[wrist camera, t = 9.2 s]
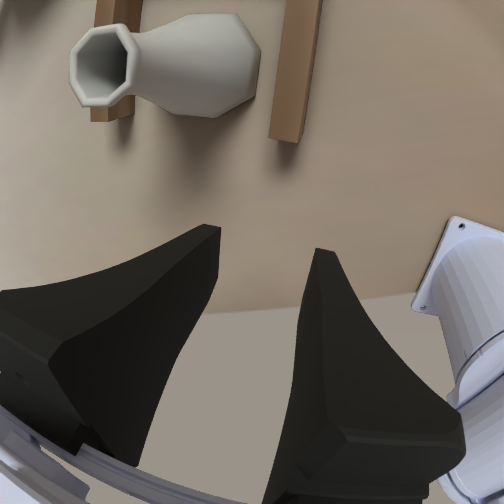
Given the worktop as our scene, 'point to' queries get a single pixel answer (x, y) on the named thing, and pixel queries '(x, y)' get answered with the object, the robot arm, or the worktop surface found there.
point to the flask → (169, 65)
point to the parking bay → (288, 74)
